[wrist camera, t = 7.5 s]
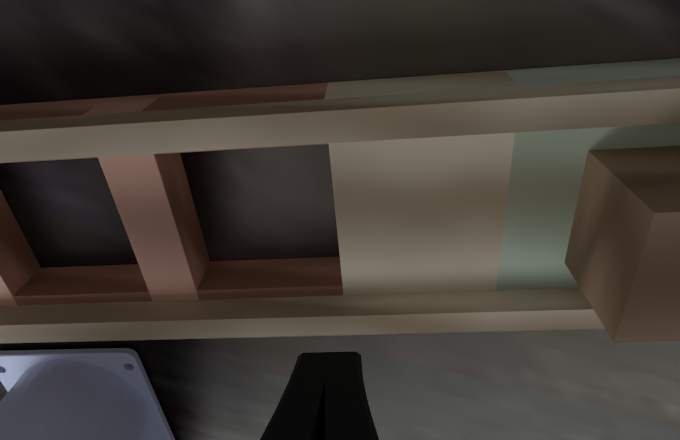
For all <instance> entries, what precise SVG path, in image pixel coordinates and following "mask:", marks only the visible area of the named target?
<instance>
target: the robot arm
mask: <svg viewBox="0 0 680 440" xmlns="http://www.w3.org/2000/svg"><path fill="white" fill-rule="evenodd" d="M0 381H1V382H2V384H3V385H4V387H5V388H6V390H7V391H8V393H7V394H6V395H5V397H4V398H3V399H2V400H1V402H0V440H175V438H174V436H173V434H172V431H171V429H170V427H169V424H168V422H167V420H166V418H165V415H164V413H163V411H162V408H161V406H160V404H159V401H158V399H157V397H156V395H155V392H154V390H153V388H152V385H151V383H150V381H149V379H148V376H147V374H146V372H145V369H144V367H143V365H142V363H141V360H140V358H139V356H138V354H137V352H136V351H134V350H133V349H130V348H100V349H56V350H11V351H0ZM260 440H379V438H378V435H377V432H376V429H375V426H374V422H373V419H372V416H371V412H370V409H369V405H368V401H367V396H366V392H365V387H364V382H363V375H362V362H361V355H360V354H358V353H357V352H321V353H302V354H301V355H300V356H298V359H297V362H296V365H295V367H294V370H293V372H292V375H291V377H290V380H289V382H288V384H287V386H286V389H285V391H284V393H283V395H282V397H281V400H280V402H279V404H278V406H277V408H276V410H275V412H274V414H273V416H272V418H271V420H270V422H269V424H268V425H267V427H266V429H265V431H264V433H263V435H262V437H261V439H260Z"/></svg>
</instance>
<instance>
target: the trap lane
mask: <svg viewBox="0 0 680 440" xmlns="http://www.w3.org/2000/svg"><path fill="white" fill-rule="evenodd" d="M322 144H329V154H330V164H331V174H332V184H333V194H334V204H335V214H336V224H337V235H338V245H339V255H340V256H338V257H312V258H286V259H259V260H233V261H210V258H209V255H208V251H207V248H206V244H205V241H204V237H203V233H202V230H201V226H200V223H199V219H198V215H197V212H196V208H195V205H194V201H193V198H192V194H191V190H190V187H189V183H188V180H187V176H186V173H185V169H184V165H183V162H182V158H181V155H180V153H184V152H202V151H219V150H236V149H253V148H271V147H288V146H305V145H322ZM662 146H680V58H675V59H661V60H646V61H632V62H617V63H603V64H588V65H574V66H559V67H545V68H530V69H516V70H501V71H487V72H473V73H458V74H444V75H429V76H415V77H400V78H386V79H371V80H357V81H342V82H328V83H313V84H299V85H284V86H270V87H256V88H241V89H227V90H212V91H198V92H183V93H169V94H154V95H140V96H125V97H111V98H96V99H82V100H67V101H53V102H38V103H24V104H10V105H0V163H12V162H30V161H47V160H64V159H81V158H98V159H99V162H100V164H101V167H102V170H103V172H104V175H105V178H106V180H107V183H108V185H109V188H110V191H111V193H112V196H113V199H114V201H115V204H116V206H117V209H118V212H119V214H120V217H121V220H122V222H123V225H124V227H125V230H126V233H127V235H128V238H129V241H130V243H131V246H132V248H133V251H134V254H135V256H136V259H137V262H138V264H128V265H101V266H75V267H49V268H41V267H40V265H39V263H38V261H37V259H36V257H35V255H34V253H33V251H32V249H31V247H30V245H29V244H28V242H27V240H26V238H25V236H24V234H23V232H22V230H21V228H20V226H19V224H18V222H17V220H16V219H15V217H14V215H13V213H12V211H11V209H10V207H9V205H8V203H7V201H6V199H5V197H4V195H3V193H2V192H1V190H0V343H39V342H81V341H122V340H164V339H206V338H248V337H289V336H331V335H373V334H415V333H457V332H498V331H540V330H582V329H605V327H604V326H603V324H602V322H601V321H600V319H599V318H598V316H597V314H596V313H595V311H594V310H593V308H592V306H591V305H590V303H589V301H588V300H587V298H586V297H585V295H584V293H583V292H582V290H581V289H580V287H579V285H578V284H577V282H576V281H575V279H574V277H573V276H572V274H571V272H570V271H569V269H568V268H567V266H566V264H565V263H564V262H565V257H566V252H567V248H568V243H569V238H570V234H571V229H572V224H573V219H574V215H575V210H576V205H577V201H578V196H579V191H580V187H581V182H582V177H583V172H584V168H585V163H586V158H587V154H588V150H607V149H625V148H643V147H662Z"/></svg>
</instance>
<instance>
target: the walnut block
mask: <svg viewBox="0 0 680 440" xmlns="http://www.w3.org/2000/svg"><path fill="white" fill-rule="evenodd" d="M564 263H565V264H566V266H567V268H568V269H569V271H570V272H571V274H572V276H573V277H574V279H575V281H576V282H577V284H578V285H579V287H580V289H581V290H582V292H583V293H584V295H585V297H586V298H587V300H588V301H589V303H590V305H591V306H592V308H593V310H594V311H595V313H596V314H597V316H598V318H599V319H600V321H601V322H602V324H603V326H604V327H605V329H606V330H607V332H608V334H609V335H610V337H611V339H612V340H613V342H650V341H680V146H662V147H643V148H625V149H607V150H588V154H587V158H586V163H585V168H584V172H583V177H582V182H581V187H580V191H579V196H578V201H577V205H576V210H575V215H574V219H573V224H572V229H571V234H570V238H569V243H568V248H567V252H566V257H565V262H564Z"/></svg>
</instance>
